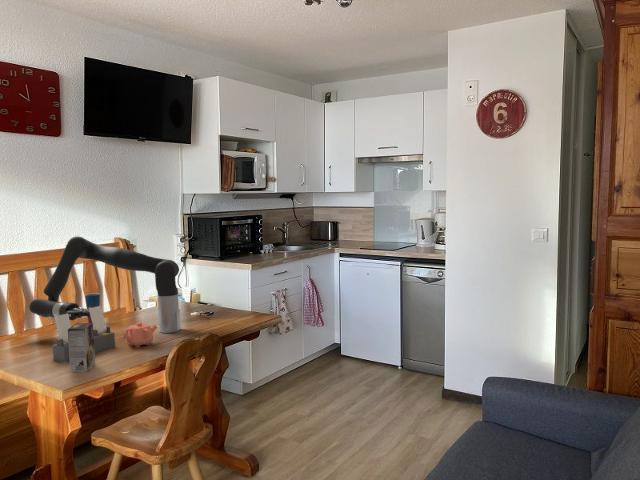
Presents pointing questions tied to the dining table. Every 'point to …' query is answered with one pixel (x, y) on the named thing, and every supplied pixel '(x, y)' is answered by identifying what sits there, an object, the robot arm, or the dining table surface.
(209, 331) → the dining table surface
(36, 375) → the dining table surface
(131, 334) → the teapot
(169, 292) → the robot arm
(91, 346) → the coffee box
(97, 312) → the rocker
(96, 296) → the cup
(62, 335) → the rocker
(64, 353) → the grey block structure
